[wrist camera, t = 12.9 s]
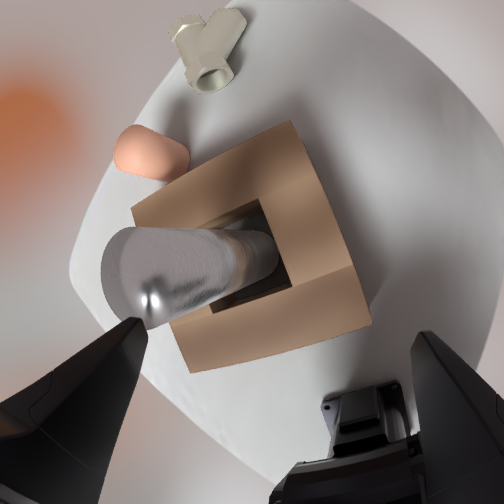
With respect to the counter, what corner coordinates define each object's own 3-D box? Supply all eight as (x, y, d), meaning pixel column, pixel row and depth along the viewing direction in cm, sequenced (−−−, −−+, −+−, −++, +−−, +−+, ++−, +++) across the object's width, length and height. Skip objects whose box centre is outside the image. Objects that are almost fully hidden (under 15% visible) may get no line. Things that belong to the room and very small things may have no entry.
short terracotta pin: (195, 170, 23) (154, 155, 18) (162, 190, 24) (118, 181, 19) (183, 135, 23) (143, 115, 18) (151, 155, 24) (110, 141, 19)
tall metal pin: (288, 252, 21) (196, 278, 9) (257, 289, 22) (144, 349, 9) (252, 220, 22) (128, 205, 9) (223, 257, 22) (89, 280, 10)
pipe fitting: (241, 17, 21) (181, 46, 23) (229, -8, 18) (163, 26, 19) (274, 66, 21) (203, 99, 22) (264, 40, 17) (183, 79, 19)
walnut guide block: (368, 307, 19) (372, 324, 15) (214, 354, 23) (190, 373, 20) (301, 139, 20) (289, 119, 16) (161, 211, 24) (130, 207, 20)
